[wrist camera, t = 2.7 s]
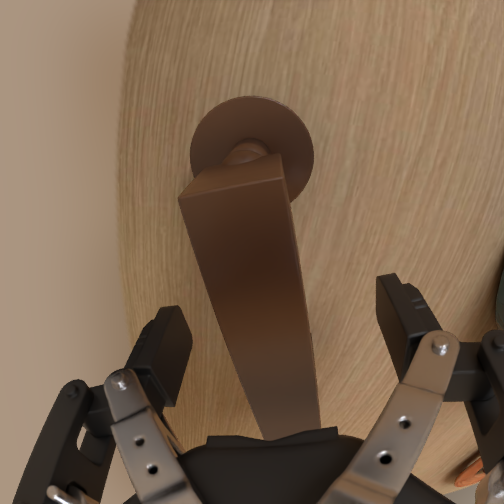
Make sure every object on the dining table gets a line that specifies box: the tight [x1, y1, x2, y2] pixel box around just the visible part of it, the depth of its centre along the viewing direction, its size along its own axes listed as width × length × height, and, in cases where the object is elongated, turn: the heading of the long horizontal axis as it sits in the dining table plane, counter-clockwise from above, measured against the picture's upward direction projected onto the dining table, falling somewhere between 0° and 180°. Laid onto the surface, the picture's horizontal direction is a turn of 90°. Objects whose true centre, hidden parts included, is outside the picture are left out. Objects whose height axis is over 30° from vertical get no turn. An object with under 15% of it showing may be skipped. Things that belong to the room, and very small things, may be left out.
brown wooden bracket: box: [178, 96, 321, 441], centre depth 13 cm, size 16×5×9 cm, turn 12°
